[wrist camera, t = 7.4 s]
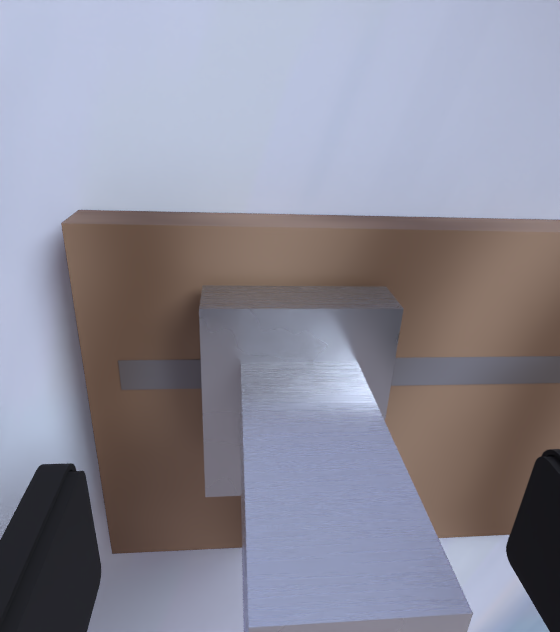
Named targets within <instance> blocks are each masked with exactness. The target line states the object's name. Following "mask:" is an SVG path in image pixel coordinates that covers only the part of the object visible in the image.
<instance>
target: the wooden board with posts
mask: <svg viewBox="0 0 560 632" xmlns="http://www.w3.org/2000/svg"><path fill="white" fill-rule="evenodd" d="M61 225H62V231H63V238H64V244H65V250H66V257H67V263H68V270H69V276H70V283H71V289H72V296H73V302H74V309H75V315H76V322H77V328H78V335H79V341H80V348H81V354H82V361H83V367H84V374H85V380H86V386H87V393H88V399H89V406H90V412H91V419H92V425H93V432H94V438H95V445H96V451H97V458H98V464H99V471H100V477H101V484H102V490H103V497H104V503H105V509H106V516H107V522H108V529H109V535H110V542H111V548H112V554H115V553H136V552H157V551H178V550H199V549H220V548H240V547H242V521H241V496H222V497H205V473H204V443H203V413H202V383H201V353H200V323H199V305H200V299H201V293H202V286H203V285H214V286H386V287H387V288H388V290H389V291H390V292H391V294H392V295H393V296H394V297H395V299H396V300H397V301H398V302H399V304H400V305H401V306H402V308H403V315H402V321H401V327H400V333H399V339H398V345H397V351H396V357H395V363H394V370H393V376H392V382H391V388H390V394H389V400H388V406H387V412H386V418H385V423H386V425H387V427H388V430H389V432H390V434H391V436H392V438H393V441H394V443H395V445H396V447H397V449H398V451H399V454H400V456H401V458H402V460H403V462H404V464H405V467H406V469H407V471H408V473H409V475H410V478H411V480H412V482H413V484H414V486H415V488H416V491H417V493H418V495H419V497H420V499H421V501H422V504H423V506H424V508H425V510H426V512H427V515H428V517H429V519H430V521H431V523H432V525H433V528H434V530H435V532H436V534H437V536H438V538H449V537H470V536H491V535H510V533H511V531H512V528H513V525H514V522H515V519H516V516H517V513H518V510H519V507H520V504H521V502H522V499H523V496H524V493H525V490H526V487H527V484H528V481H529V478H530V475H531V473H532V470H533V467H534V464H535V461H536V459H537V458H539V457H541V456H542V454H543V452H544V451H546V450H549V449H560V220H540V219H491V218H442V217H393V216H345V215H296V214H247V213H199V212H150V211H101V210H78V211H77V212H75V213H74V214H73V215H72V216H70V217H69V218H68V219H66V220H65V221H64V222H62V223H61Z"/></svg>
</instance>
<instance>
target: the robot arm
mask: <svg viewBox="0 0 560 632" xmlns="http://www.w3.org/2000/svg"><path fill="white" fill-rule="evenodd" d="M506 552H507V557H508V560H509V562H510V564H511V566H512V568H513V570H514V571H515V573H516V575H517V576H518V578H519V580H520V582H521V583H522V585H523V587H524V588H525V590H526V592H527V593H528V595H529V597H530V599H531V600H532V602H533V604H534V605H535V607H536V609H537V611H538V612H539V614H540V616H541V617H542V619H543V621H544V622H545V624H546V626H547V628H548V629H549V631H550V632H560V449H549V450H546V451H544V452H543V454H542V456H541V457H539V458H537V459H536V461H535V464H534V467H533V470H532V473H531V475H530V478H529V481H528V484H527V487H526V490H525V493H524V496H523V499H522V502H521V504H520V507H519V510H518V513H517V516H516V519H515V522H514V525H513V528H512V531H511V533H510V536H509V539H508V542H507V546H506ZM100 578H101V563H100V557H99V551H98V545H97V539H96V533H95V528H94V522H93V516H92V510H91V504H90V498H89V493H88V487H87V481H86V476H85V473H84V471H76V468H75V466H74V464H42V465H40V466H39V467H38V469H37V470H36V472H35V474H34V476H33V478H32V480H31V482H30V484H29V486H28V488H27V490H26V492H25V494H24V495H23V497H22V499H21V501H20V503H19V505H18V507H17V509H16V511H15V513H14V515H13V517H12V519H11V521H10V523H9V524H8V526H7V528H6V530H5V532H4V534H3V536H2V538H1V540H0V632H87V629H88V625H89V622H90V618H91V614H92V611H93V607H94V603H95V599H96V596H97V592H98V588H99V584H100Z"/></svg>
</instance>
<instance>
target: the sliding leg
mask: <svg viewBox="0 0 560 632" xmlns="http://www.w3.org/2000/svg"><path fill="white" fill-rule="evenodd" d="M402 315H403V308H402V306H401V305H400V304H399V302H398V301H397V300H396V299H395V297H394V296H393V295H392V294H391V292H390V291H389V290H388V288H387V287H386V286H214V285H203V286H202V293H201V299H200V305H199V323H200V353H201V383H202V413H203V443H204V473H205V497H222V496H241V521H242V570H243V619H244V632H467V630H468V627H469V624H470V621H471V618H472V615H473V612H472V610H471V608H470V606H469V604H468V602H467V599H466V597H465V595H464V593H463V591H462V589H461V586H460V584H459V582H458V580H457V578H456V575H455V573H454V571H453V569H452V567H451V565H450V562H449V560H448V558H447V556H446V554H445V552H444V549H443V547H442V545H441V543H440V541H439V538H438V536H437V534H436V532H435V530H434V528H433V525H432V523H431V521H430V519H429V517H428V515H427V512H426V510H425V508H424V506H423V504H422V501H421V499H420V497H419V495H418V493H417V491H416V488H415V486H414V484H413V482H412V480H411V478H410V475H409V473H408V471H407V469H406V467H405V464H404V462H403V460H402V458H401V456H400V454H399V451H398V449H397V447H396V445H395V443H394V441H393V438H392V436H391V434H390V432H389V430H388V427H387V425H386V423H385V418H386V412H387V406H388V400H389V394H390V388H391V382H392V376H393V370H394V363H395V357H396V351H397V345H398V339H399V333H400V327H401V321H402Z"/></svg>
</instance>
